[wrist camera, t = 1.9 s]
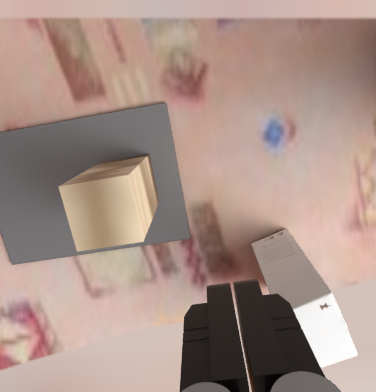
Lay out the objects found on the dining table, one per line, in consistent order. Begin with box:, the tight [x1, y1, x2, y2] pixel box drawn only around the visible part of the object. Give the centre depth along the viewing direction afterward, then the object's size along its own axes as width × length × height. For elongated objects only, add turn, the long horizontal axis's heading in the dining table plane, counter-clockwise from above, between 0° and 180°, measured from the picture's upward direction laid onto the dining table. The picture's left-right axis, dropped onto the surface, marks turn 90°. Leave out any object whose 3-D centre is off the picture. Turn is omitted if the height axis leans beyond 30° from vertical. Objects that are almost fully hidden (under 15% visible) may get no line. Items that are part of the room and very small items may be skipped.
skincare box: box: [251, 229, 357, 368], centre depth 29 cm, size 6×4×12 cm
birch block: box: [58, 154, 159, 252], centre depth 27 cm, size 5×5×10 cm
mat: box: [0, 103, 191, 265], centre depth 33 cm, size 20×14×1 cm
